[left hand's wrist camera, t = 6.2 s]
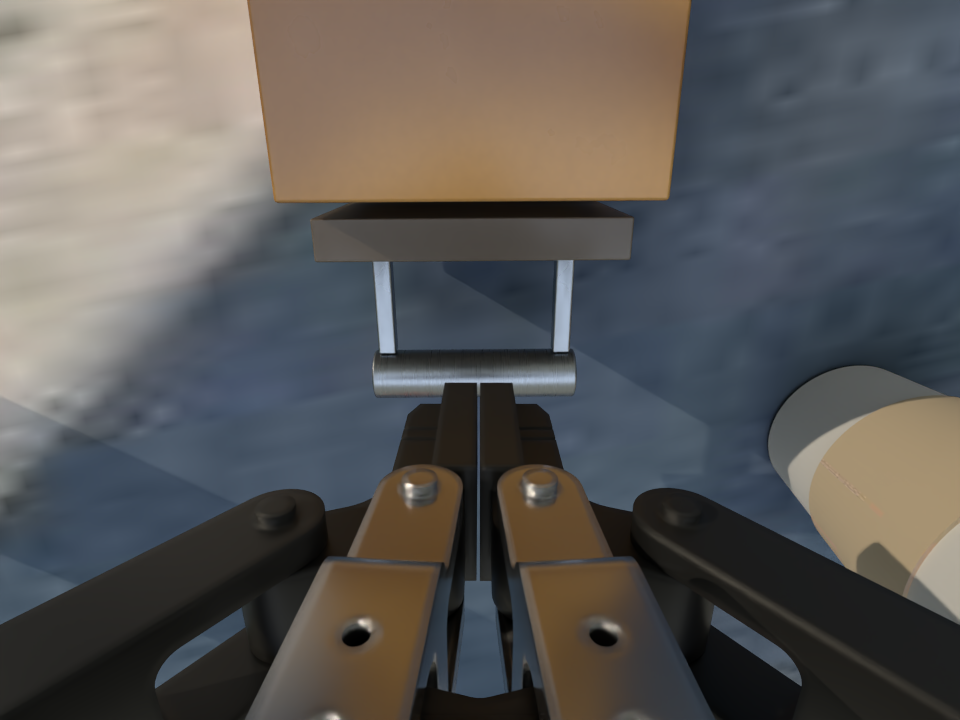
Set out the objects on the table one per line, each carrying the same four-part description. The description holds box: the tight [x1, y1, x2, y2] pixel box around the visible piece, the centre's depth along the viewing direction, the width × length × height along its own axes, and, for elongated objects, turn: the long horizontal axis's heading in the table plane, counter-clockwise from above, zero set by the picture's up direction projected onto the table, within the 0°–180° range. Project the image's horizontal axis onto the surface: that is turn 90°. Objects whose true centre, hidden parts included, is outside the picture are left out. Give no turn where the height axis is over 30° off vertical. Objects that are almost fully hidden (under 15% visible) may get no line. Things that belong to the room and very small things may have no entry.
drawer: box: [310, 201, 634, 398], centre depth 16 cm, size 24×9×7 cm, turn 0°
